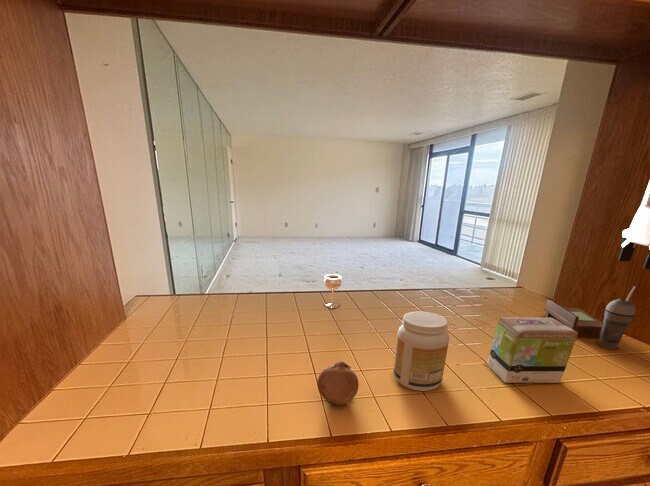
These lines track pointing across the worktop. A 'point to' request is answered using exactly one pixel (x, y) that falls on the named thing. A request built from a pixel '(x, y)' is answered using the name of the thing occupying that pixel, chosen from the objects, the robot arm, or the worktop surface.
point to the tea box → (531, 349)
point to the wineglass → (332, 286)
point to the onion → (338, 384)
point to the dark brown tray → (574, 319)
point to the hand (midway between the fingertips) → (636, 264)
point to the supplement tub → (421, 351)
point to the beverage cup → (616, 321)
